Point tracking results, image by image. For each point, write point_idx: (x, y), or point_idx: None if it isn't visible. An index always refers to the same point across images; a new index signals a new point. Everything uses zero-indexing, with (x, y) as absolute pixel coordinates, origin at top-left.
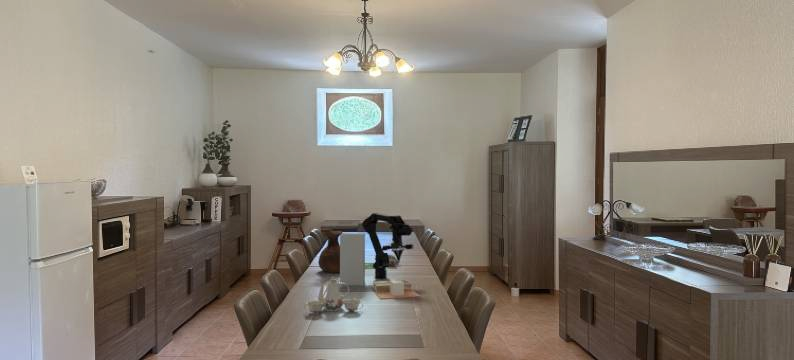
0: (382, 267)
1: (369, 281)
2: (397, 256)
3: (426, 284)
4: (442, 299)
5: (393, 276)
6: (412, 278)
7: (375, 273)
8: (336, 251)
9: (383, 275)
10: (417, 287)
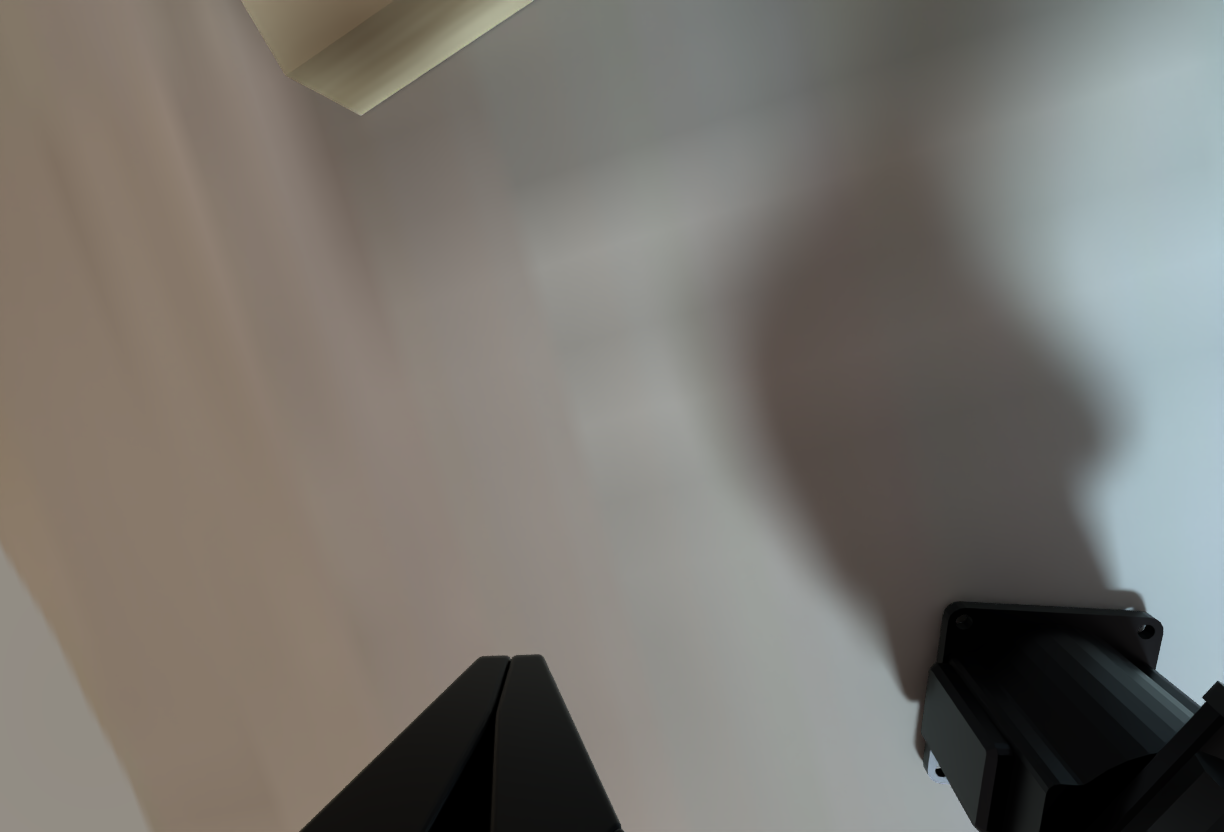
0: (1123, 818)
1: (1206, 324)
2: (511, 816)
3: (84, 385)
4: None
5: (803, 818)
6: None
7: (1196, 706)
8: None
9: (985, 676)
10: (143, 103)
